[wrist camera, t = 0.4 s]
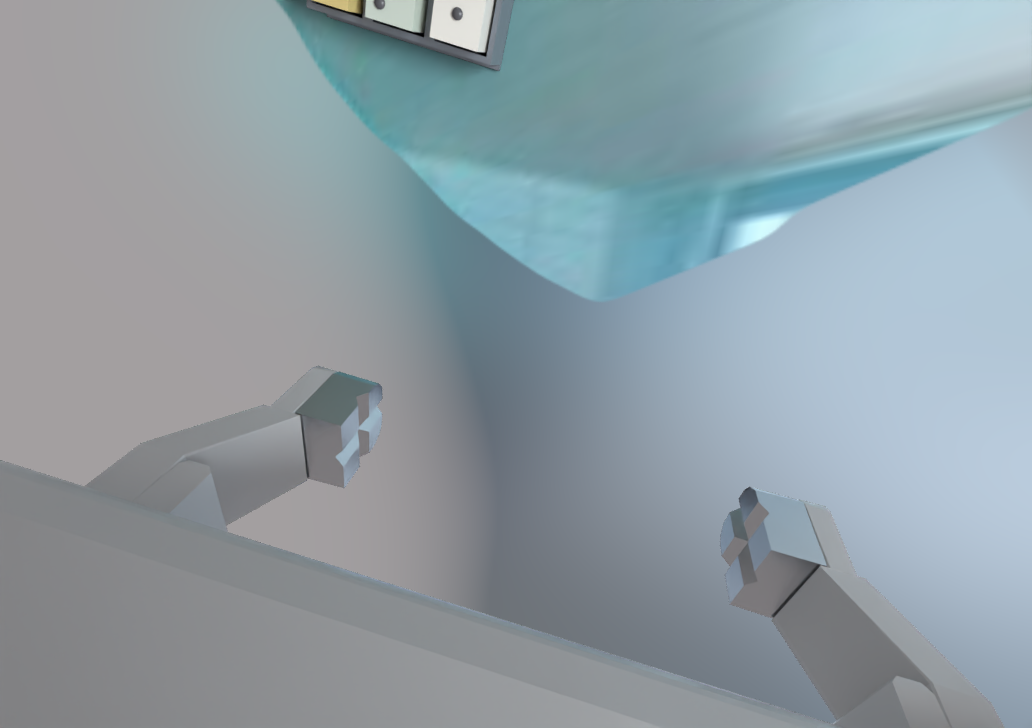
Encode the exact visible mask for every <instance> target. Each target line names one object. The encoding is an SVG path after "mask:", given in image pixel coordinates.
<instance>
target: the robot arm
mask: <svg viewBox="0 0 1032 728" xmlns="http://www.w3.org/2000/svg"><path fill="white" fill-rule="evenodd" d="M381 400H382V386H381V385H380V384H378V383H375V382H372V381H369V380H365V379H362V378H359V377H355V376H352V375H349V374H346V373H342V372H337V371H334V370H331V369H328V368H324V367H321V366H316V367H313V368H311V369H310V370H309V371H308V372H307V373H306V374H305V375H304V376H303V377H301V378H300V379H299V380H298V381H297V382H296V383H295V384H294V385H293V386H292V387H291V388H290V389H289V390H287V391H286V392H285V393H284V394H283V395H282V396H281V397H280V398H279V399H278V400H277V401H275V402H274V403H273V404H272V405H271V406H266V405H261V406H258V407H255V408H252V409H249V410H245V411H242V412H239V413H236V414H233V415H229V416H226V417H223V418H220V419H217V420H213V421H210V422H207V423H204V424H201V425H197V426H194V427H191V428H188V429H185V430H181V431H178V432H175V433H172V434H169V435H165V436H162V437H159V438H156V439H153V440H149V441H146V442H143V443H141V444H140V445H138V446H137V447H135V448H134V449H133V450H131V451H130V452H129V453H127V454H126V455H125V456H124V457H122V458H121V459H120V460H118V461H117V462H116V463H114V464H113V465H112V466H110V467H109V468H108V469H107V470H105V471H104V472H103V473H101V474H100V475H99V476H97V477H96V478H95V479H93V480H92V481H91V482H89V483H88V484H87V485H86V486H81V485H78V484H74V483H72V482H68V481H65V480H62V479H59V478H56V477H53V476H50V475H46V474H43V473H40V472H36V471H33V470H31V469H27V468H24V467H21V466H18V465H14V464H12V463H9V462H5V461H2V460H0V728H1004V726H1003V724H1002V722H1001V720H1000V718H999V716H998V715H997V713H996V711H995V709H994V707H993V705H992V704H991V702H990V701H989V700H988V699H987V698H986V697H985V696H984V695H983V694H982V693H981V692H980V691H979V690H978V689H977V688H976V687H974V685H973V684H971V682H969V680H968V679H966V677H965V676H964V675H963V674H962V673H960V672H959V671H958V670H957V669H956V668H955V667H954V666H953V665H952V664H951V663H950V662H949V661H948V660H947V659H946V658H945V657H944V656H943V655H942V654H941V653H940V652H939V651H938V650H937V649H936V648H935V647H934V646H933V645H932V644H931V643H930V642H929V641H928V640H927V639H926V638H925V637H924V636H923V635H922V634H921V633H920V632H919V631H918V630H917V629H916V628H915V627H914V626H913V625H912V624H911V623H910V622H909V621H908V620H907V619H906V618H905V617H904V616H903V615H902V614H901V613H900V612H899V611H897V609H896V608H895V607H894V606H893V605H892V604H891V603H890V602H889V601H888V600H887V599H886V598H885V597H883V595H882V594H881V593H880V592H879V591H877V589H875V587H874V586H872V584H871V583H870V582H868V581H867V580H866V579H865V578H862V577H859V576H857V574H856V572H855V569H854V567H853V565H852V562H851V560H850V557H849V555H848V553H847V550H846V548H845V546H844V543H843V541H842V539H841V536H840V534H839V532H838V529H837V527H836V524H835V522H834V519H833V517H832V515H831V512H830V511H829V510H828V509H827V508H826V507H825V506H822V505H818V504H814V503H811V502H807V501H803V500H797V499H793V498H789V497H786V496H782V495H779V494H775V493H771V492H768V491H764V490H760V489H756V488H753V487H748V488H747V489H745V490H744V491H743V493H742V494H741V496H740V497H739V503H740V508H739V509H737V510H734V511H732V512H730V513H729V514H728V516H727V518H726V520H725V522H724V523H723V528H722V531H721V536H720V537H721V538H720V547H721V554H722V557H723V558H724V559H725V561H726V562H727V563H728V564H729V566H730V568H729V569H728V571H727V572H726V574H725V579H726V585H727V591H728V597H729V603H730V604H731V605H733V606H736V607H740V608H743V609H746V610H749V611H752V612H755V613H758V614H761V615H764V616H767V617H770V618H773V619H772V622H773V623H774V625H775V626H776V628H777V629H778V631H779V632H780V634H781V635H782V637H783V638H784V640H785V642H786V643H787V645H788V646H789V648H790V649H791V651H792V652H793V654H794V655H795V657H796V658H797V660H798V661H799V663H800V665H801V666H802V668H803V669H804V671H805V672H806V674H807V675H808V677H809V679H810V680H811V682H812V683H813V684H814V686H815V688H816V689H817V690H818V692H819V694H820V695H821V697H822V698H823V700H824V702H825V703H826V705H827V706H828V708H829V709H830V711H831V712H832V714H833V715H834V717H835V719H836V720H837V721H836V722H834V723H833V724H830V723H828V722H824V721H821V720H818V719H815V718H812V717H809V716H806V715H802V714H799V713H796V712H793V711H790V710H787V709H784V708H780V707H777V706H774V705H771V704H768V703H765V702H761V701H758V700H755V699H752V698H749V697H745V696H743V695H739V694H736V693H733V692H730V691H727V690H724V689H721V688H717V687H714V686H711V685H708V684H705V683H701V682H698V681H695V680H692V679H689V678H685V677H682V676H679V675H676V674H673V673H670V672H667V671H664V670H660V669H657V668H654V667H651V666H647V665H644V664H641V663H638V662H635V661H632V660H629V659H625V658H622V657H619V656H616V655H613V654H609V653H606V652H603V651H600V650H597V649H594V648H591V647H588V646H584V645H581V644H578V643H574V642H572V641H569V640H566V639H562V638H559V637H556V636H553V635H550V634H547V633H544V632H540V631H537V630H534V629H531V628H528V627H524V626H522V625H518V624H515V623H512V622H509V621H506V620H503V619H499V618H496V617H493V616H490V615H487V614H484V613H481V612H477V611H474V610H471V609H468V608H465V607H462V606H459V605H455V604H453V603H449V602H446V601H443V600H440V599H437V598H434V597H431V596H427V595H424V594H421V593H418V592H415V591H412V590H409V589H405V588H402V587H399V586H396V585H393V584H390V583H386V582H383V581H380V580H377V579H374V578H371V577H368V576H364V575H361V574H358V573H355V572H352V571H349V570H346V569H342V568H339V567H336V566H333V565H330V564H327V563H324V562H320V561H317V560H314V559H311V558H307V557H304V556H301V555H298V554H295V553H292V552H289V551H286V550H282V549H279V548H276V547H273V546H270V545H266V544H264V543H261V542H257V541H254V540H251V539H248V538H245V537H241V536H238V535H235V534H232V533H229V532H228V531H227V527H226V526H227V525H228V524H230V523H232V522H234V521H236V520H237V519H239V518H241V517H243V516H245V515H246V514H248V513H250V512H252V511H253V510H255V509H257V508H259V507H261V506H262V505H264V504H266V503H268V502H270V501H271V500H273V499H275V498H277V497H279V496H280V495H282V494H284V493H286V492H288V491H289V490H291V489H293V488H295V487H296V486H298V485H300V484H302V483H304V482H305V481H307V478H308V479H312V480H316V481H320V482H323V483H327V484H331V485H334V486H338V487H342V488H345V487H346V485H347V484H348V482H349V481H350V480H351V478H352V477H353V475H354V474H355V472H356V471H357V470H358V468H359V467H360V465H359V464H360V461H359V457H360V456H362V455H365V454H367V453H369V452H370V451H371V449H372V448H373V446H374V445H375V443H376V441H377V438H378V436H379V433H380V430H381V425H382V413H381V411H380V410H379V408H378V407H377V405H378V404H379V402H380V401H381Z"/></svg>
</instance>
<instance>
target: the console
mask: <svg viewBox="0 0 1032 728" xmlns="http://www.w3.org/2000/svg"><path fill="white" fill-rule="evenodd" d="M513 2H514V0H497V2H496V7H495V13H494V18H493V24H492V29H491V34H490V40H489V45H488V51H487V53H486V52H476V51H473V50H469V49H466V48H463V47H460V46H457V45H453V44H450V43H447V42H444V41H441V40H438V39H434V38H431V37H430V29H431V21H432V13H433V4H434V0H428V8H427V17H426V25H425V33H419V32H412V31H409V30H406V29H402V28H399V27H396V26H393V25H390V24H386V23H383V22H380V21H377V20H374V19H370V18H367V17H365V9H366V0H363V14H360V13H354V12H348V11H345V10H342V9H339V8H335V7H332V6H329V5H326V4H323V3H319V2H316V1H313V0H307V8H310V9H313V10H316V11H320V12H323V13H326V14H327V17H329V18H332V19H336V20H339V21H342V22H345V23H348V24H351V25H355V26H358V27H361V28H364V29H367V30H371V31H374V32H377V33H380V34H383V35H386V36H390V37H393V38H396V39H399V40H402V41H405V42H409V43H412V44H415V45H418V46H421V47H425V48H428V49H431V50H434V51H437V52H440V53H444V54H447V55H450V56H453V57H456V58H460V59H463V60H466V61H469V62H472V63H475V64H479V65H482V66H485V67H488V68H491V69H495V70H498V71H500V68H501V63H502V58H503V53H504V48H505V43H506V38H507V33H508V28H509V23H510V18H511V13H512V7H513Z"/></svg>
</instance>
